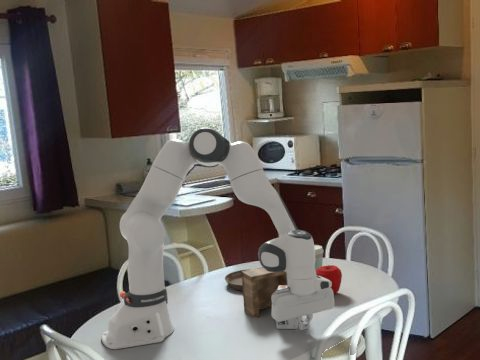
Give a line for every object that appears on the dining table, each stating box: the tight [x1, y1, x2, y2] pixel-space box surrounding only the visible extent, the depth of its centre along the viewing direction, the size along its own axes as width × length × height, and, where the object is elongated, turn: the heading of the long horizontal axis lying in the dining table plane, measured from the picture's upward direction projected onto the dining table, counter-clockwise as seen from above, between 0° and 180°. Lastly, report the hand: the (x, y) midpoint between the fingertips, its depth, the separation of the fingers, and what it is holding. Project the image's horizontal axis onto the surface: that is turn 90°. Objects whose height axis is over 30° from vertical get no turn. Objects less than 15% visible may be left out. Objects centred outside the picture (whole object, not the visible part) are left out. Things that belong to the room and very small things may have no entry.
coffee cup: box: [314, 244, 325, 271], centre depth 227 cm, size 9×8×12 cm
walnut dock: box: [242, 266, 287, 319], centre depth 195 cm, size 15×8×14 cm, turn 114°
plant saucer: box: [224, 268, 251, 291], centre depth 225 cm, size 21×21×3 cm
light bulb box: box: [275, 285, 299, 330], centre depth 183 cm, size 11×7×11 cm, turn 168°
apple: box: [316, 264, 343, 296], centre depth 207 cm, size 10×10×11 cm
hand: (304, 328), depth 175 cm, fingers closed
